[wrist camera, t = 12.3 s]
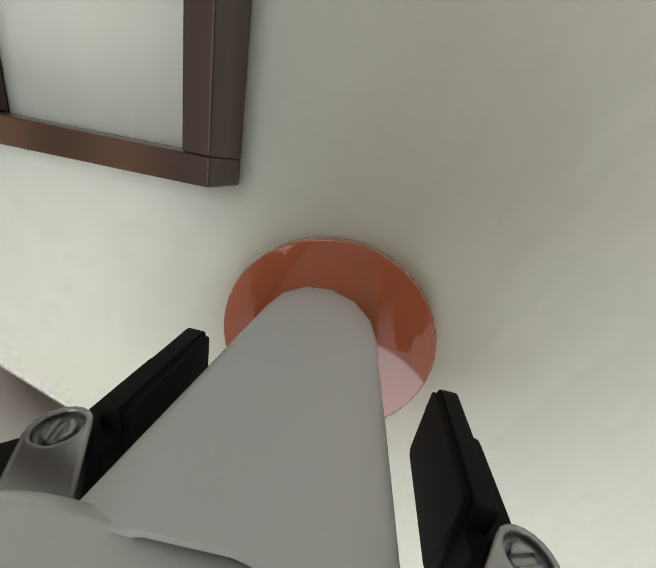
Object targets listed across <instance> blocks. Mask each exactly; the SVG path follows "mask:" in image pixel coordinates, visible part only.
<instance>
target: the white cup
mask: <svg viewBox="0 0 656 568" xmlns="http://www.w3.org/2000/svg"><path fill="white" fill-rule="evenodd" d="M80 501H83V502H87V503H91V504H93V505H94V506H96V507H97V508H98V509H100V510H101V511H102V512H103V513H104V514H105V515H106V516H107V517H108V518H109V519H110V520H111V521H112V523H113V525H112V526H111V527H110V528H109V530H108V532H111V533H115V534H118V535H122V536H126V537H129V538H135V537H143V538H148V539H152V540H156V541H161V542H165V543H169V544H174V545H178V546H182V547H187V548H191V549H195V550H200V551H204V552H208V553H213V554H217V555H221V556H226V557H230V558H233V559H235V560H237V561H239V562H242V563H244V564H246V565H248V566H250V567H252V568H400V563H399V553H398V543H397V534H396V524H395V514H394V505H393V495H392V485H391V475H390V466H389V456H388V446H387V437H386V427H385V417H384V407H383V398H382V388H381V378H380V369H379V359H378V349H377V341H376V338H375V334H374V331H373V328H372V324H371V321H370V320H369V319H368V317H367V316H366V315H365V314H364V313H363V311H362V310H361V309H360V308H359V307H358V306H357V304H356V303H355V302H353V301H352V300H350V299H348V298H346V297H344V296H342V295H340V294H338V293H337V292H335V291H333V290H329V289H321V288H313V287H303V288H299V289H295V290H292V291H288V292H284V293H282V294H281V295H280V296H278V297H277V298H276V299H274V300H273V301H272V302H271V303H269V304H268V305H267V306H266V307H265V308H264V309H263V310H262V311H261V312H260V313H259V314H258V315H257V316H256V317H255V318H254V319H253V320H252V322H251V323H250V324H249V325H248V326H247V327H246V328H245V329H244V330H243V331H242V332H241V333H240V334H239V335H238V336H237V337H236V338H235V339H234V340H233V341H232V342H231V343H230V344H229V345H228V347H227V348H226V349H225V350H224V351H223V352H222V353H221V354H220V355H219V356H218V357H217V358H216V359H215V360H214V361H213V362H212V363H211V364H210V365H209V366H208V367H207V368H206V369H205V370H204V372H203V373H202V374H201V375H200V376H199V377H198V378H197V379H196V380H195V381H194V382H193V383H192V384H191V385H190V386H189V387H188V388H187V389H186V390H185V391H184V392H183V393H182V394H181V395H180V396H179V398H178V399H177V400H176V401H175V402H174V403H173V404H172V405H171V406H170V407H169V408H168V409H167V410H166V411H165V412H164V413H163V414H162V415H161V416H160V417H159V418H158V419H157V420H156V421H155V423H154V424H153V425H152V426H151V427H150V428H149V429H148V430H147V431H146V432H145V433H144V434H143V435H142V436H141V437H140V438H139V439H138V440H137V441H136V442H135V443H134V444H133V445H132V446H131V448H130V449H129V450H128V451H127V452H126V453H125V454H124V455H123V456H122V457H121V458H120V459H119V460H118V461H117V462H116V463H115V464H114V465H113V466H112V467H111V468H110V469H109V470H108V471H107V473H106V474H105V475H104V476H103V477H102V478H101V479H100V480H99V481H98V482H97V483H96V484H95V485H94V486H93V487H92V488H91V489H90V490H89V491H88V492H87V493H86V494H85V495H84V496H83V497H82V499H81V500H80Z"/></svg>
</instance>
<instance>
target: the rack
mask: <svg viewBox="0 0 656 568" xmlns="http://www.w3.org/2000/svg"><path fill="white" fill-rule="evenodd" d="M250 11H251V0H184V17H183V148H178V147H173V146H168V145H163V144H158V143H153V142H148V141H143V140H138V139H134V138H129V137H124V136H119V135H114V134H109V133H104V132H99V131H94V130H89V129H84V128H79V127H74V126H69V125H65V124H60V123H55V122H50V121H45V120H40V119H35V118H30V117H25V116H20V115H15V114H10V113H6V112H8V107H7V101H6V96H5V90H4V84H3V79H2V73H1V68H0V144H4V145H8V146H13V147H18V148H23V149H27V150H32V151H37V152H42V153H46V154H51V155H56V156H61V157H65V158H70V159H75V160H80V161H84V162H89V163H94V164H99V165H103V166H108V167H113V168H118V169H122V170H127V171H132V172H137V173H141V174H146V175H151V176H156V177H160V178H165V179H170V180H174V181H179V182H184V183H189V184H193V185H198V186H203V187H219V186H231V185H238V179H239V165H240V161H239V159H240V150H241V136H242V122H243V108H244V94H245V80H246V66H247V53H248V39H249V25H250Z"/></svg>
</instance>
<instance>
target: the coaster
mask: <svg viewBox="0 0 656 568" xmlns="http://www.w3.org/2000/svg"><path fill="white" fill-rule="evenodd" d="M303 287H313V288H321V289H329V290H333V291H335V292H337V293H338V294H340V295H342V296H344V297H346V298H348V299H350V300H352V301H353V302H355V303H356V304H357V306H358V307H359V308H360V309H361V310H362V311H363V313H364V314H365V315H366V316H367V317H368V319H369V320H370V321H371V324H372V328H373V331H374V334H375V338H376V341H377V349H378V359H379V369H380V378H381V388H382V398H383V407H384V417H387V416H389V415H391V414H393V413H395V412H396V411H398V410H399V409H401V408H402V407H403V406H405V405H406V404H407V403H408V402H409V401H410V400H411V399H412V398H413V397H414V396H415V395H416V394H417V393H418V392H419V390H420V389H421V387H422V386H423V384H424V383H425V381H426V379H427V377H428V375H429V373H430V371H431V368H432V364H433V361H434V358H435V350H436V330H435V325H434V320H433V316H432V313H431V310H430V308H429V305H428V302H427V300H426V298H425V296H424V295H423V293H422V291H421V289H420V287H419V286H418V285H417V283H416V282H415V281H414V279H413V278H412V277H411V276H410V274H409V273H408V272H407V271H406V270H405V269H404V268H403V267H402V266H401V265H399V264H398V263H397V262H395V261H394V260H393V259H392V258H390V257H389V256H387V255H386V254H384V253H382V252H380V251H379V250H377V249H375V248H373V247H370V246H368V245H366V244H363V243H360V242H356V241H353V240H349V239H344V238H337V237H310V238H302V239H298V240H294V241H290V242H287V243H285V244H283V245H280V246H278V247H276V248H274V249H272V250H270V251H269V252H267V253H265V254H264V255H262V256H261V257H260V258H259V259H257V260H256V261H255V262H254V263H252V264H251V265H250V266H249V267H248V268H247V269H246V270H245V272H244V273H243V274H242V275H241V276H240V278H239V279H238V281H237V282H236V284H235V285H234V287H233V290H232V292H231V294H230V296H229V299H228V303H227V306H226V311H225V318H224V334H225V340H226V345H227V347H228V345H229V344H230V343H231V342H232V341H233V340H234V339H235V338H236V337H237V336H238V335H239V334H240V333H241V332H242V331H243V330H244V329H245V328H246V327H247V326H248V325H249V324H250V323H251V322H252V320H253V319H254V318H255V317H256V316H257V315H258V314H259V313H260V312H261V311H262V310H263V309H264V308H265V307H266V306H267V305H268V304H269V303H271V302H272V301H273V300H274V299H276V298H277V297H278V296H280V295H281V294H282V293H284V292H288V291H292V290H295V289H299V288H303Z"/></svg>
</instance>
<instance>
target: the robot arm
mask: <svg viewBox="0 0 656 568" xmlns="http://www.w3.org/2000/svg"><path fill="white" fill-rule="evenodd" d="M208 355H209V337H208V336H206V334H205V332H204V331H200V330H196V329H192V328H188V329H186V330H185V331H184V332H183V333H182V334H180V335H179V336H178V337H177V338H176V339H174V340H173V341H172V342H171V343H170V344H168V345H167V346H166V347H165V348H164V349H162V350H161V351H160V352H159V353H158V354H156V355H155V356H154V357H153V358H151V359H149V360H148V361H147V362H146V363H144V364H143V365H142V366H141V367H140V368H138V369H137V370H136V371H135V372H134V373H132V374H131V375H130V376H129V377H128V378H126V379H125V380H124V381H123V382H121V383H120V384H119V385H118V386H117V387H115V388H114V389H113V390H112V391H111V392H109V393H108V394H107V395H106V396H105V397H103V398H102V399H101V400H100V401H99V402H97V403H96V404H95V405H94V406H93V407H91V408H90V409H89V410H88V409H86V408H83V407H77V406H74V407H64V408H60V409H56V410H53V411H51V412H48V413H46V414H44V415H42V416H40V417H39V418H37V419H35V420H34V421H33V422H32V423H30V424H29V425H28V426H27V427H26V429H25V430H24V431H23V433H22V434H21V436H20V438H18V439H14V440H11V441H7V442H4V443H0V568H252V567H250V566H248V565H246V564H244V563H242V562H239V561H237V560H235V559H233V558H230V557H226V556H221V555H217V554H213V553H208V552H204V551H200V550H195V549H191V548H187V547H182V546H178V545H174V544H169V543H165V542H161V541H156V540H152V539H148V538H143V537H135V538H129V537H126V536H122V535H118V534H115V533H111V532H108V530H109V528H110V527H111V526H112V525H113V523H112V521H111V520H110V519H109V518H108V517H107V516H106V515H105V514H104V513H103V512H102V511H101V510H100V509H98V508H97V507H96V506H94V505H93V504H91V503H87V502H83V501H80V500H81V499H82V497H83V496H84V495H85V494H86V493H87V492H88V491H89V490H90V489H91V488H92V487H93V486H94V485H95V484H96V483H97V482H98V481H99V480H100V479H101V478H102V477H103V476H104V475H105V474H106V473H107V471H108V470H109V469H110V468H111V467H112V466H113V465H114V464H115V463H116V462H117V461H118V460H119V459H120V458H121V457H122V456H123V455H124V454H125V453H126V452H127V451H128V450H129V449H130V448H131V446H132V445H133V444H134V443H135V442H136V441H137V440H138V439H139V438H140V437H141V436H142V435H143V434H144V433H145V432H146V431H147V430H148V429H149V428H150V427H151V426H152V425H153V424H154V423H155V421H156V420H157V419H158V418H159V417H160V416H161V415H162V414H163V413H164V412H165V411H166V410H167V409H168V408H169V407H170V406H171V405H172V404H173V403H174V402H175V401H176V400H177V399H178V398H179V396H180V395H181V394H182V393H183V392H184V391H185V390H186V389H187V388H188V387H189V386H190V385H191V384H192V383H193V382H194V381H195V380H196V379H197V378H198V377H199V376H200V375H201V374H202V373H203V372H204V370H205V369H206V368H207V367H208ZM410 462H411V470H412V478H413V486H414V494H415V503H416V511H417V519H418V527H419V535H420V543H421V551H422V559H423V566H424V568H560V566H559V564H558V562H557V560H556V559H555V557H554V556H553V554H552V553H551V551H550V550H549V549H548V548H547V547H546V545H545V544H544V543H543V542H542V541H541V540H540V539H538V538H537V537H536V536H535V535H534V534H532V533H531V532H529V531H528V530H526V529H525V528H523V527H520V526H517V525H515V524H511V522H510V519H509V517H508V514H507V512H506V509H505V506H504V504H503V501H502V499H501V496H500V494H499V491H498V488H497V486H496V483H495V481H494V478H493V476H492V473H491V470H490V468H489V465H488V463H487V460H486V458H485V455H484V452H483V450H482V447H481V445H480V443H479V441H478V440H477V439H475V438H473V435H472V432H471V430H470V427H469V424H468V422H467V419H466V416H465V414H464V411H463V408H462V406H461V403H460V400H459V398H458V395H457V394H456V393H453V392H449V391H445V390H441V389H440V390H438V392H437V393H435V392H433V393H432V394H431V397H430V399H429V402H428V404H427V407H426V409H425V412H424V414H423V417H422V419H421V422H420V424H419V427H418V430H417V432H416V435H415V437H414V440H413V442H412V445H411V448H410Z"/></svg>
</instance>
